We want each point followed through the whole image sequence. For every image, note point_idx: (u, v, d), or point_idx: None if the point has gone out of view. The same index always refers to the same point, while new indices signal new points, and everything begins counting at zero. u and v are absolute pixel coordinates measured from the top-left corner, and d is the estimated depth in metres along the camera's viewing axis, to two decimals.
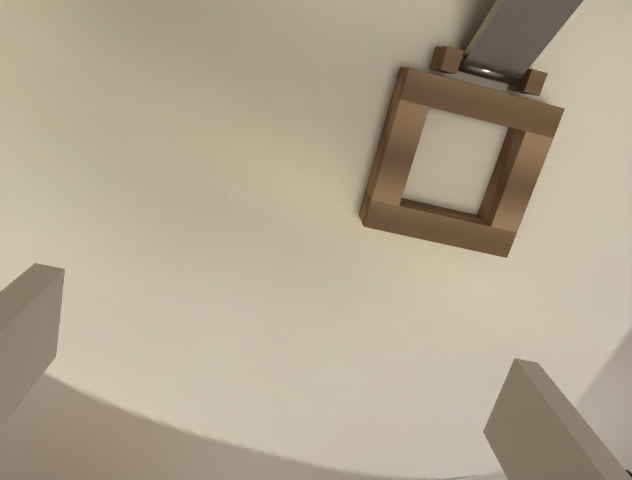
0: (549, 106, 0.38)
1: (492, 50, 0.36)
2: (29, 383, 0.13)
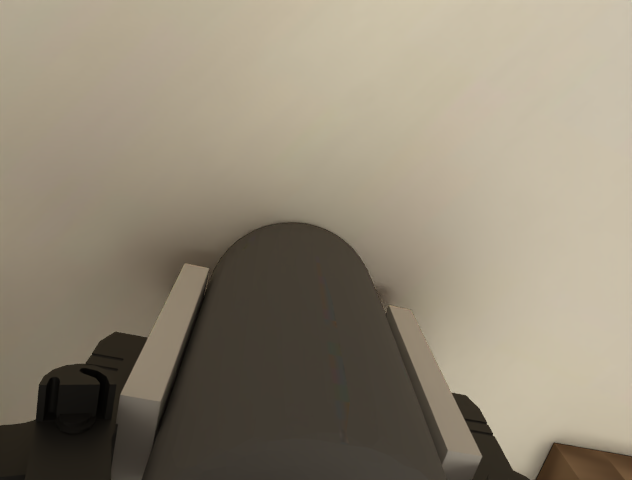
0: None
1: None
2: None
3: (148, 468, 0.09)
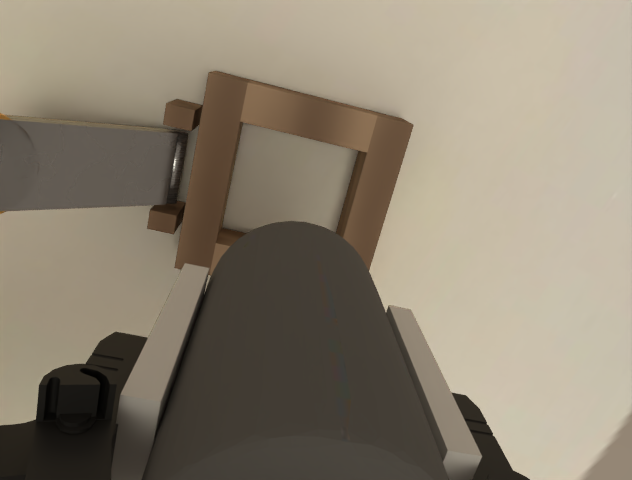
0: (207, 94, 0.29)
1: (143, 183, 0.30)
2: None
3: (149, 466, 0.09)
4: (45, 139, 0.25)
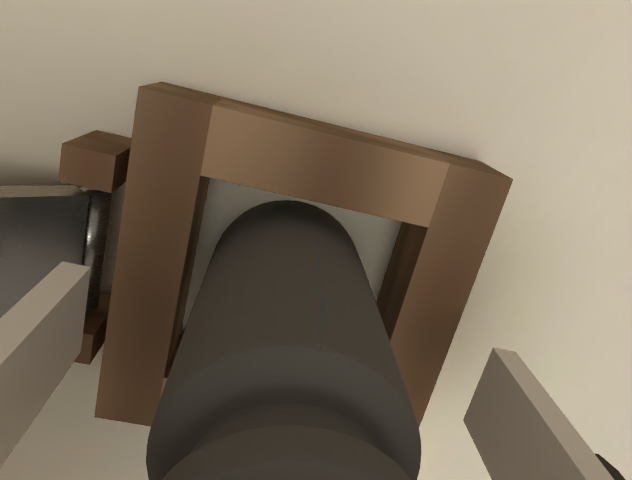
0: (137, 126, 0.16)
1: (26, 287, 0.16)
2: (58, 377, 0.13)
3: (168, 380, 0.11)
4: None
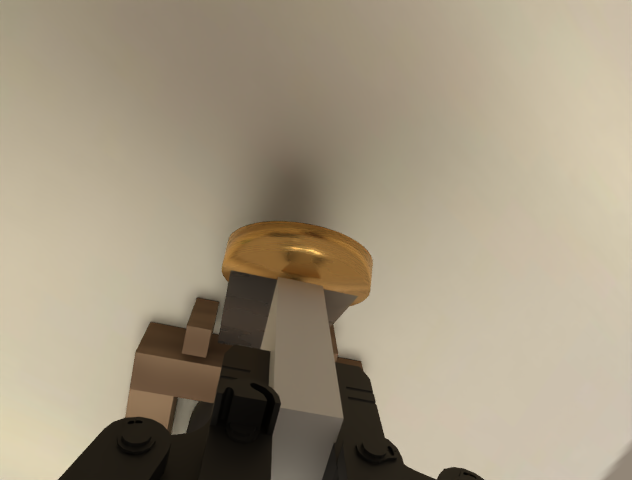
0: None
1: (247, 337, 0.25)
2: None
3: None
4: None
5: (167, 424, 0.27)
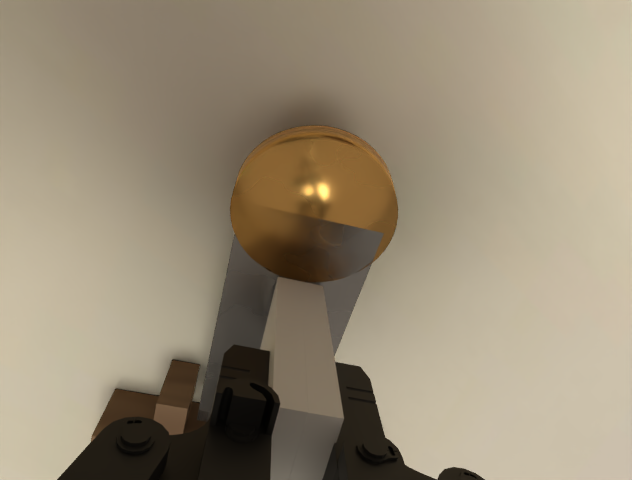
0: None
1: None
2: None
3: None
4: (334, 293, 0.17)
5: None
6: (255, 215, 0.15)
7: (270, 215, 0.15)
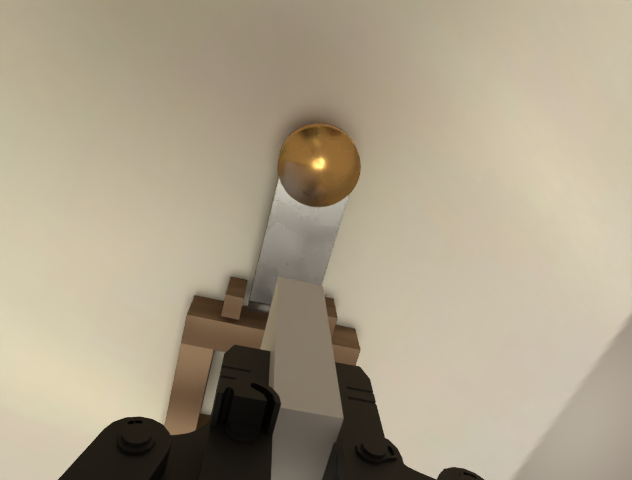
0: (343, 348, 0.36)
1: (274, 282, 0.34)
2: None
3: None
4: (329, 213, 0.32)
5: (207, 372, 0.36)
6: (290, 167, 0.31)
7: (297, 167, 0.31)
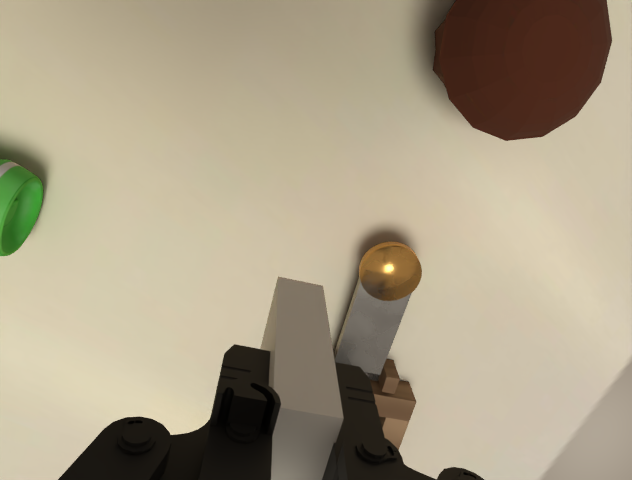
0: (403, 400, 0.47)
1: (352, 353, 0.45)
2: None
3: None
4: (397, 305, 0.43)
5: None
6: (369, 274, 0.42)
7: (375, 274, 0.42)
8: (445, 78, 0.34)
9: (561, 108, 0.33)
